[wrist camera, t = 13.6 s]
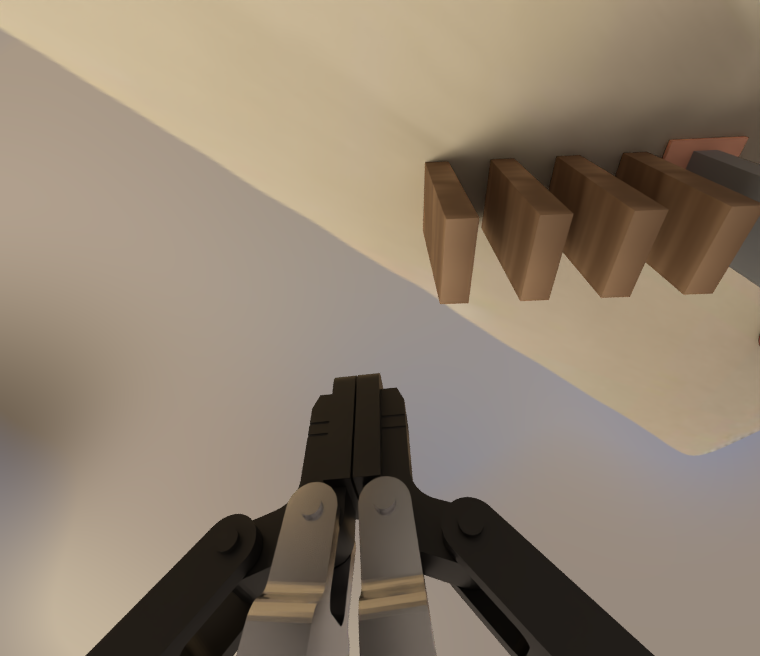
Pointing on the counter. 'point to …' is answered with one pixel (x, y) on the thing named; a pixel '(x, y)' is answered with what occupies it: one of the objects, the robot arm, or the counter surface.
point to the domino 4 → (690, 221)
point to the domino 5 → (750, 179)
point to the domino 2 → (524, 228)
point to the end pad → (701, 148)
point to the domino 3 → (605, 225)
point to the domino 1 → (449, 232)
